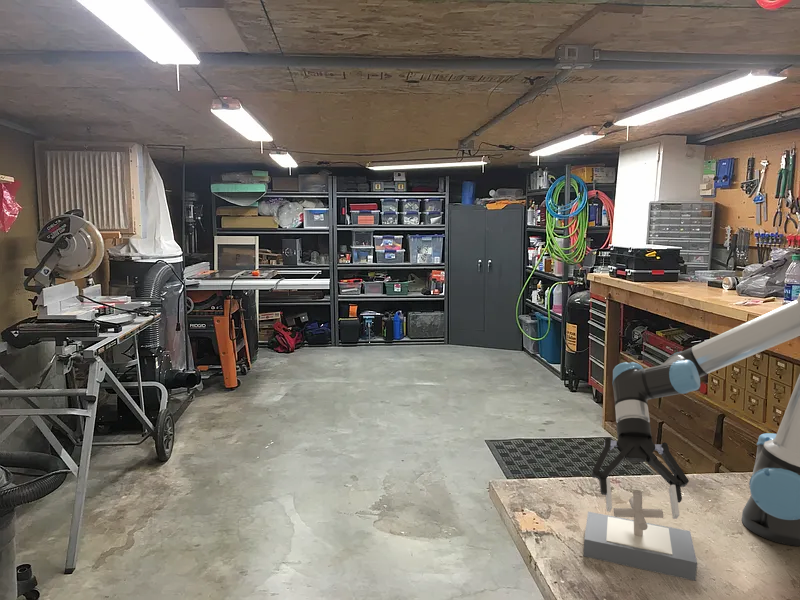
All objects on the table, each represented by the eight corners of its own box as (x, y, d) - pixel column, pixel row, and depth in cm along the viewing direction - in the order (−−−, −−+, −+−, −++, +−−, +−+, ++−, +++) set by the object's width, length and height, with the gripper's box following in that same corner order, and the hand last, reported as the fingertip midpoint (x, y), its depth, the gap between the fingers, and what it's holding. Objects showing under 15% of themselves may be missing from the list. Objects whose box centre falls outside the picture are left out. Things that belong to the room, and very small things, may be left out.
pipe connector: (668, 548, 117) (668, 505, 115) (618, 546, 119) (617, 504, 118) (656, 521, 127) (656, 481, 125) (610, 520, 129) (609, 480, 127)
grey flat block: (688, 547, 125) (690, 530, 125) (695, 580, 114) (697, 561, 113) (587, 527, 134) (588, 510, 133) (583, 556, 122) (584, 538, 121)
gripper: (685, 434, 133) (699, 525, 120) (577, 425, 138) (580, 511, 125) (693, 420, 127) (710, 514, 115) (580, 411, 132) (584, 500, 120)
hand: (642, 513), depth 120 cm, fingers open, 13 cm apart
